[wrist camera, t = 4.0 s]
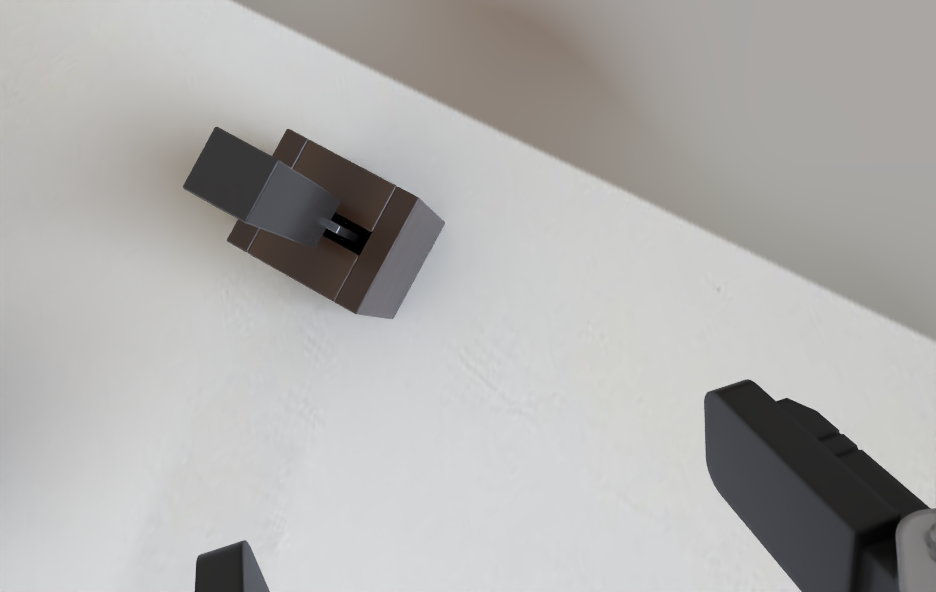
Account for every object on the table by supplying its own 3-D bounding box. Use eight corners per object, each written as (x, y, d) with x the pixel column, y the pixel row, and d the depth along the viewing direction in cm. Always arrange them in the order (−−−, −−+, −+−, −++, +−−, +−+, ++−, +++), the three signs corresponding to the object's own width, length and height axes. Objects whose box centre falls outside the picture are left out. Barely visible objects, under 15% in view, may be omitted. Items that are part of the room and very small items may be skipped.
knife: (401, 236, 36) (291, 166, 22) (380, 274, 36) (257, 229, 22) (346, 206, 36) (203, 119, 22) (325, 244, 36) (169, 181, 22)
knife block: (445, 222, 35) (419, 198, 29) (393, 319, 35) (356, 314, 29) (334, 163, 36) (286, 127, 30) (282, 257, 36) (225, 240, 30)
